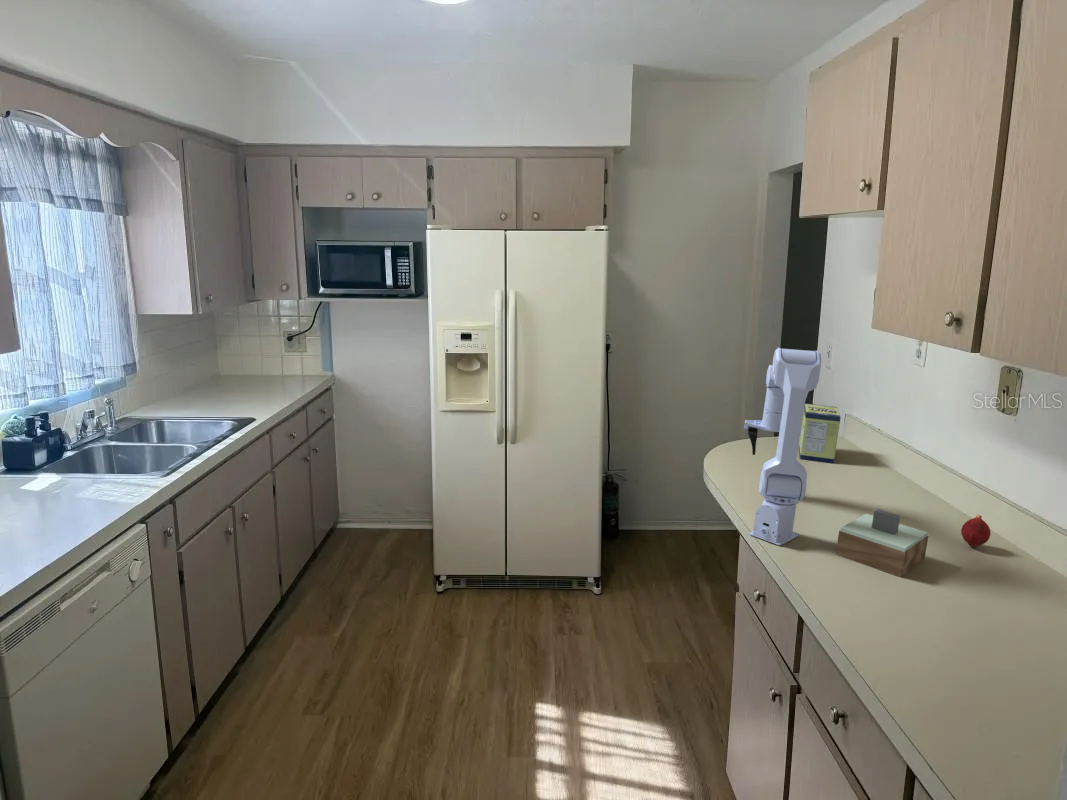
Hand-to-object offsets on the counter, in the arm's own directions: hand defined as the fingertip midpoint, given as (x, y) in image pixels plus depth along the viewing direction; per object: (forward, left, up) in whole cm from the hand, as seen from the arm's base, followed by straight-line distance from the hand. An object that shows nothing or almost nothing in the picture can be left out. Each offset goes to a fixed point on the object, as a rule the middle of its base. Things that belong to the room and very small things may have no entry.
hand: (768, 455), depth 197 cm
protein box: (+48, +8, -11) cm, 49 cm away
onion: (+7, -50, -11) cm, 52 cm away
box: (-17, -38, -11) cm, 43 cm away
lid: (-17, -38, -5) cm, 42 cm away
